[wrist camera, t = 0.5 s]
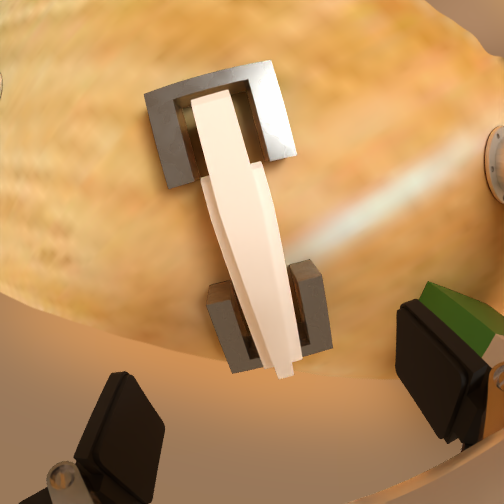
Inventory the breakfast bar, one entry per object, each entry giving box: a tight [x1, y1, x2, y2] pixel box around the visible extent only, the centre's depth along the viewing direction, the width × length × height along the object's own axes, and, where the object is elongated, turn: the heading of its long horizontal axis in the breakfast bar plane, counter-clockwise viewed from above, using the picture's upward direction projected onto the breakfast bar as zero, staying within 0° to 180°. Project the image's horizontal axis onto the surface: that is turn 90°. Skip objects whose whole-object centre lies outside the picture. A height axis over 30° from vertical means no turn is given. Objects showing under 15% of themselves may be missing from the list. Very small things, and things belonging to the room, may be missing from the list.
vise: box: [144, 60, 333, 374], centre depth 30 cm, size 12×31×5 cm, turn 14°
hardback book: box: [419, 281, 504, 368], centre depth 27 cm, size 18×7×24 cm, turn 71°
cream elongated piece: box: [191, 90, 303, 379], centre depth 29 cm, size 6×25×13 cm, turn 15°
